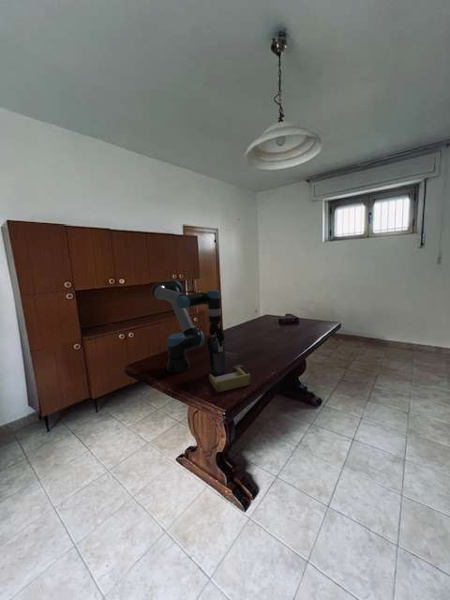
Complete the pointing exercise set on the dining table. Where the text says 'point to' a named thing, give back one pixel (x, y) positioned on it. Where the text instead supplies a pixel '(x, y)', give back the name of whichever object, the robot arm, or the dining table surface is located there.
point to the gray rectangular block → (238, 367)
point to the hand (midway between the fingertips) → (216, 348)
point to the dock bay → (230, 380)
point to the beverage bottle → (217, 356)
